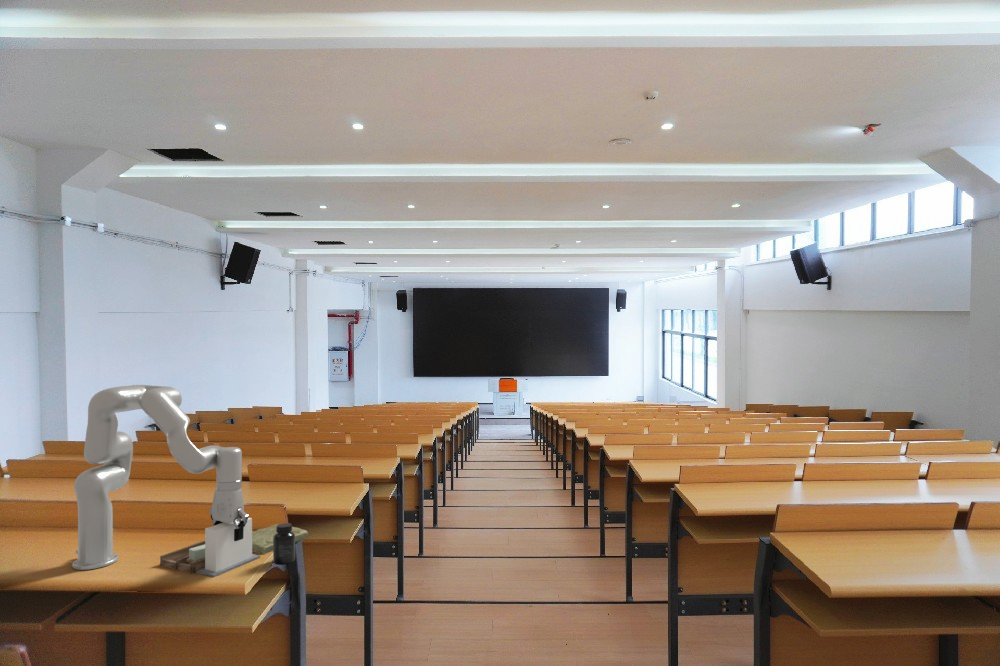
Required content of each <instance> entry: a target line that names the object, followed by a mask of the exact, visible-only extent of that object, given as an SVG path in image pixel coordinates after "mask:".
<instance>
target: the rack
mask: <svg viewBox="0 0 1000 666" xmlns="http://www.w3.org/2000/svg"><path fill="white" fill-rule="evenodd" d="M204 544H205V540H203V541H199V542H196V543H193V544H191V545H188V546H185V547H183V548H179V549H177V550H174V551H171V552H168V553H165V554H162V555H160V556H159V558H160V559H159V560H160V561H159V562H160V563H159V564H160V566H162V567H166V568H170V569H173V570H177V571H182V572H186V573H189V574H195V573H197V570H200V569H202V568H205V558H204V559H201V560H199V561H196V562H193V563H191V565H189V564H187V559H188V558H189V549H190V548H194V547H197V546H201V545H204Z"/></svg>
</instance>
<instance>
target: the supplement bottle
mask: <svg viewBox="0 0 1000 666" xmlns="http://www.w3.org/2000/svg"><path fill="white" fill-rule="evenodd" d="M278 524H279V525H277V527H276V532H277V533H276V534H275V535H274V537H273V551H272V552H273V556H272V559H273V563H274V564H275V565H278V566H285V565H289V564H292V563H293V562H295V560H296V542H295V534H294V533H293V532H292V527H293V524H292V523H290V522H289V523H288V522H287V523H286V522H285V523H284V522H283V523H278Z"/></svg>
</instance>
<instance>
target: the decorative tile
mask: <svg viewBox="0 0 1000 666" xmlns="http://www.w3.org/2000/svg"><path fill="white" fill-rule="evenodd" d="M279 524H280V523H278V524H275V523H274V524H272V525H270V526H267V527H265V528H259V529H256V530H252V552H253V551H254V552H253V553H257V554H261V553H262V555H266V554H268V553H270V552H273V537H274V535H275V534H276V533H277V532H276V527H277V525H279ZM292 532H293V533H294V534H295V543H297V542H298V541H301V540H304V539H306V538H309V537H308V536H309V532H308V530H305V529H302V528H300V527H295V526H292Z"/></svg>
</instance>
